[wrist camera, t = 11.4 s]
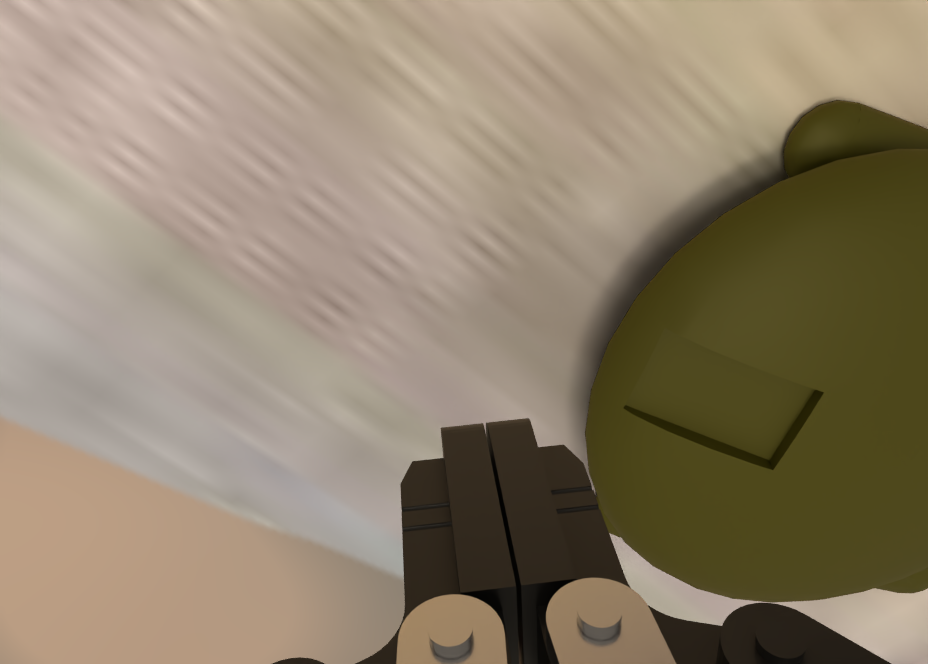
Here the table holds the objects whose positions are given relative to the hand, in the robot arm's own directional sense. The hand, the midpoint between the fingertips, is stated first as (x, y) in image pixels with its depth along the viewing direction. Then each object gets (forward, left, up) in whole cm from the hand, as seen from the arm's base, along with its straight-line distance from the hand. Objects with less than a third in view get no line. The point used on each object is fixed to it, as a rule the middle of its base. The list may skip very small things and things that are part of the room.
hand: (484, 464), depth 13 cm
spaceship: (+4, +32, -30) cm, 44 cm away
